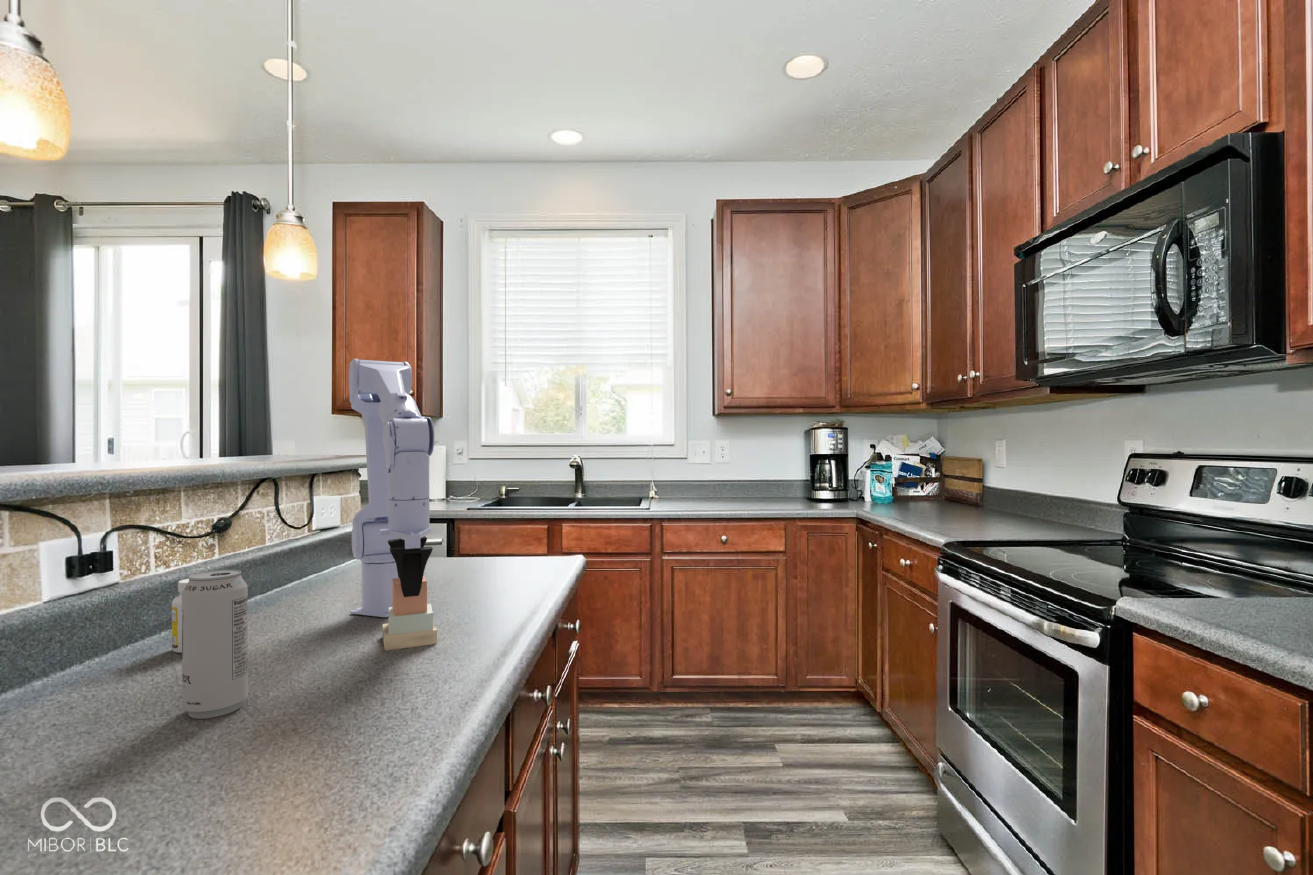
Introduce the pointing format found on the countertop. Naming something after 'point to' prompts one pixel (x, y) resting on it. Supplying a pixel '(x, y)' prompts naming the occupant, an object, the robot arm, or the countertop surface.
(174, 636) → the supplement bottle
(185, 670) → the energy drink can
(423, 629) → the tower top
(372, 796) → the countertop surface
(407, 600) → the terracotta cube
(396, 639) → the tower base
